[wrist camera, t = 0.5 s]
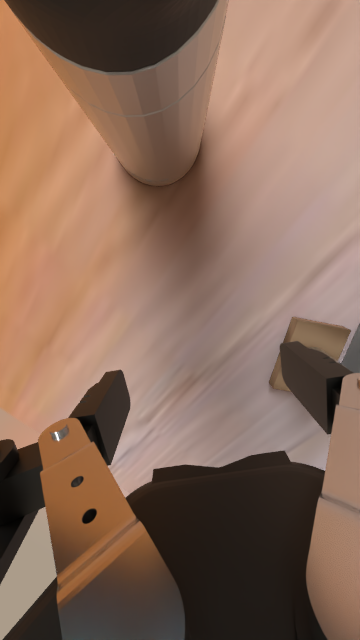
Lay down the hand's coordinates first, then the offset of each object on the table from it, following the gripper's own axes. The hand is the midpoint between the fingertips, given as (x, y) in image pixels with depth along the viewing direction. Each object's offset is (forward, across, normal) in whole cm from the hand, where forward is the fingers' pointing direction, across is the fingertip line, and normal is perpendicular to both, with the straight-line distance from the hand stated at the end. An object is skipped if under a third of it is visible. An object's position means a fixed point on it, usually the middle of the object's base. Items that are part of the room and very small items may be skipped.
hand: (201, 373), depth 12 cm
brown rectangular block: (+19, -14, +10) cm, 26 cm away
